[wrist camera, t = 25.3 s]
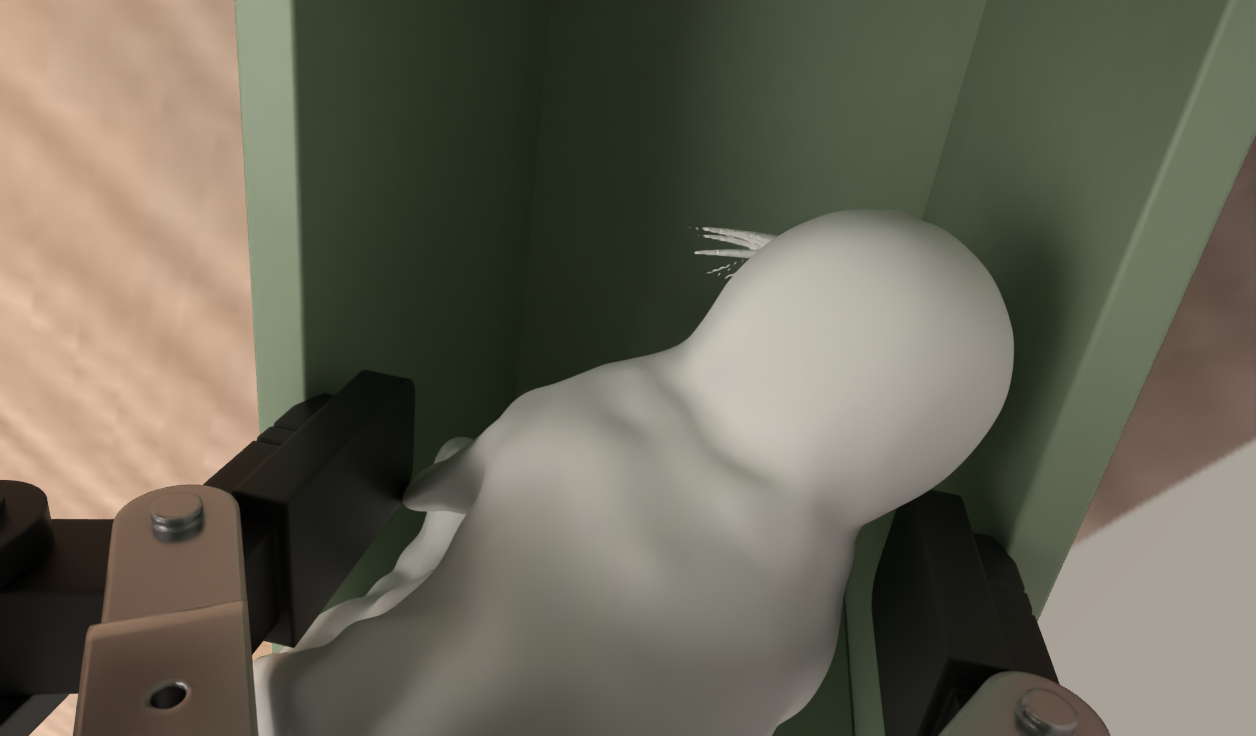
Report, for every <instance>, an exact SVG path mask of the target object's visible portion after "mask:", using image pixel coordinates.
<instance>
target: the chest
mask: <svg viewBox="0 0 1256 736" xmlns="http://www.w3.org/2000/svg"><path fill="white" fill-rule="evenodd" d="M234 1H235V18H236V35H237V52H238V69H239V86H240V103H241V121H242V138H243V155H244V172H245V189H246V206H247V223H248V240H249V257H250V274H251V291H252V308H253V325H254V343H255V360H256V377H257V394H258V411H259V428H260V435H261V434H262V433H263V432H264V431H265V430H266V429H267V428H269V427H270V426H271V427H273V426H274V422H276V421H277V420H278V419H279V418H280V417H281V416H282V415H284V414H285V413H286V412H287V411H288V410H289V409H290V408H292V407H293V406H294V405H296V404H299V403H301V402H303V401H306V400H308V399H311V398H313V397H315V396H318V395H320V394H323V393H327V394H332V395H335V394H337V393H338V392H339V391H340V390H341V389H342V388H343V387H344V386H345V385H346V384H347V383H348V382H350V381H351V380H352V379H353V378H354V377H355V376H356V375H357V374H358V373H359V372H361V371H362V370H370V371H374V372H379V373H384V374H389V375H394V376H398V377H403V378H408V379H411V380H412V381H413V383H414V386H415V424H414V456H413V471H412V476H411V481H412V480H413V479H414V478H415V477H416V476H417V475H418V474H419V473H420V472H421V471H422V470H425V469H427V468H428V467H430V466H431V465H433V464H434V461H435V458H436V456H437V454H438V453H439V450H440V449H441V447H442V446H443V445H444V444H445V443H446V442H448V441H449V440H451V439H453V438H455V437H468V438H471V439H473V440H474V439H475V438H477V437H478V436H480V435H481V434H482V433H483V432H484V431H485V430H486V429H487V428H488V427H489V426H490V425H492V424H493V423H494V422H495V421H497V420H498V419H499V418H500V417H501V415H502V414H503V413H504V412H505V410H506V409H507V408H508V407H509V406H510V405H511V404H512V403H513V402H514V401H515V400H516V399H517V398H519V397H520V396H522V395H523V394H525V393H527V392H529V391H531V390H534V389H537V388H540V387H544V386H548V385H552V384H555V383H558V382H561V381H563V380H566V379H568V378H571V377H574V376H576V375H579V374H581V373H584V372H586V371H589V370H591V369H593V368H596V367H598V366H601V365H604V364H608V363H612V362H618V361H623V360H628V359H633V358H637V357H642V356H646V355H650V354H655V353H658V352H661V351H664V350H667V349H670V348H673V347H675V346H677V345H679V344H681V343H682V342H684V341H685V340H686V339H688V338H689V337H690V336H691V335H692V334H693V332H694V331H695V330H696V329H697V327H698V326H699V325H700V323H701V322H702V321H703V319H704V318H705V316H706V315H707V314H708V312H709V311H710V309H711V307H712V306H713V304H714V303H715V301H716V299H717V298H718V296H719V295H720V293H721V292H722V290H723V289H724V287H725V286H726V284H727V283H728V282H729V280H730V279H731V278H732V277H733V276H729V277H728V278H726V277H727V276H728V275H732V274H734V273H735V272H737V271H738V270H739V269H740V268H741V267H742V266H743V265H744V264H745V263H746V262H747V261H748V260H749V259H750V258H740V257H729V256H718V255H706V254H695V253H694V252H696V251H703V250H716V249H720V250H723V249H731V250H732V249H750V248H749V247H746V246H743V245H738V244H734V243H732V242H726V241H720V240H718V239H712V238H705V237H704V236H703V235H716V236H717V235H723V236H726V235H725V234H719V233H713V232H711V231H704V230H703V229H702V228H703V227H710V228H724V229H725V228H726V229H735V230H742V231H752V232H757V233H766V234H772V235H777V236H779V235H781V234H782V233H784V232H785V231H787V230H789V229H791V228H793V227H795V226H797V225H799V224H801V223H803V222H806V221H808V220H811V219H814V218H816V217H819V216H822V215H825V214H829V213H832V212H837V211H842V210H853V209H873V210H899V211H902V212H905V213H907V214H909V215H911V216H914V217H916V218H918V219H920V220H922V221H925V222H928V223H931V224H934V225H936V226H938V227H940V228H942V229H944V230H946V231H947V232H949V233H950V234H951V235H953V236H954V237H955V238H957V239H958V240H959V241H960V242H961V243H962V244H964V245H965V246H966V247H967V248H968V249H969V250H970V251H971V252H972V253H973V254H974V255H975V256H976V257H977V258H978V259H979V260H980V262H981V263H982V264H983V265H984V266H985V268H986V269H987V270H988V272H989V273H990V275H991V276H992V278H993V280H994V281H995V283H996V285H997V287H998V289H999V291H1000V294H1001V296H1002V298H1003V301H1004V304H1005V306H1006V309H1007V312H1008V315H1009V319H1010V322H1011V326H1012V331H1013V339H1014V361H1013V370H1012V377H1011V382H1010V387H1009V390H1008V394H1007V397H1006V400H1005V402H1004V405H1003V407H1002V409H1001V411H1000V413H999V415H998V417H997V418H996V420H995V422H994V423H993V425H992V426H991V428H990V429H989V431H988V432H987V434H986V435H985V436H984V438H983V439H982V440H981V442H980V443H979V444H978V446H977V447H976V448H975V449H974V450H973V452H972V453H971V454H970V455H969V456H968V457H967V458H966V459H965V460H964V461H963V462H962V464H961V465H959V466H958V467H957V468H956V469H955V470H954V471H953V472H952V473H951V474H950V475H949V476H948V477H946V478H945V479H944V480H943V481H941V482H940V483H939V484H937V485H936V486H935V487H933V488H932V490H937V491H942V492H947V493H951V494H956V495H960V496H961V497H962V499H963V502H964V505H965V508H966V512H967V515H968V518H969V522H970V525H971V528H972V531H973V533H977V534H982V535H986V536H991V537H993V538H994V539H995V540H996V541H997V542H998V543H999V545H1000V546H1001V547H1002V548H1003V549H1004V550H1005V551H1006V552H1007V553H1008V555H1009V556H1010V557H1011V558H1012V559H1013V560H1014V561H1015V562H1016V565H1017V568H1018V570H1019V573H1020V576H1021V579H1022V581H1023V584H1024V587H1025V590H1024V593H1027V595H1028V598H1029V601H1030V604H1031V606H1032V609H1033V610H1032V615H1035V617H1036V620H1037V621H1038V619H1039V617H1040V615H1041V612H1042V610H1043V608H1044V606H1045V603H1046V601H1047V599H1048V597H1049V594H1050V592H1051V590H1052V588H1053V586H1054V583H1055V581H1056V579H1057V577H1058V574H1059V572H1060V570H1061V568H1062V566H1063V563H1064V561H1065V559H1066V557H1067V554H1068V552H1069V550H1070V548H1071V546H1072V543H1073V541H1074V539H1075V537H1076V534H1077V532H1078V530H1079V528H1080V525H1081V523H1082V521H1083V519H1084V517H1085V514H1086V512H1087V510H1088V508H1089V505H1090V503H1091V501H1092V499H1093V496H1094V494H1095V492H1096V490H1097V488H1098V485H1099V483H1100V481H1101V479H1102V476H1103V474H1104V472H1105V470H1106V468H1107V465H1108V463H1109V461H1110V459H1111V456H1112V454H1113V452H1114V450H1115V447H1116V445H1117V443H1118V441H1119V439H1120V436H1121V434H1122V432H1123V430H1124V427H1125V425H1126V423H1127V421H1128V418H1129V416H1130V414H1131V412H1132V410H1133V407H1134V405H1135V403H1136V401H1137V398H1138V396H1139V394H1140V392H1141V389H1142V387H1143V385H1144V383H1145V381H1146V378H1147V376H1148V374H1149V372H1150V369H1151V367H1152V365H1153V363H1154V361H1155V358H1156V356H1157V354H1158V352H1159V349H1160V347H1161V345H1162V343H1163V340H1164V338H1165V336H1166V334H1167V332H1168V329H1169V327H1170V325H1171V323H1172V320H1173V318H1174V316H1175V314H1176V311H1177V309H1178V307H1179V305H1180V303H1181V300H1182V298H1183V296H1184V294H1185V291H1186V289H1187V287H1188V285H1189V282H1190V280H1191V278H1192V276H1193V274H1194V271H1195V269H1196V267H1197V265H1198V262H1199V260H1200V258H1201V256H1202V253H1203V251H1204V249H1205V247H1206V245H1207V242H1208V240H1209V238H1210V236H1211V233H1212V231H1213V229H1214V227H1215V225H1216V222H1217V220H1218V218H1219V216H1220V213H1221V211H1222V209H1223V207H1224V204H1225V202H1226V200H1227V198H1228V196H1229V193H1230V191H1231V189H1232V187H1233V184H1234V182H1235V180H1236V178H1237V175H1238V173H1239V171H1240V169H1241V167H1242V164H1243V162H1244V160H1245V158H1246V155H1247V153H1248V151H1249V149H1250V146H1251V144H1252V142H1253V140H1254V138H1255V135H1256V0H234ZM689 227H690V228H689ZM696 228H698V230H697V229H696ZM698 235H699V236H698ZM742 260H743V261H742ZM735 262H736V264H734V263H735ZM729 264H730V265H729ZM727 265H729V266H728V267H727ZM721 267H727V268H722V269H720V268H721ZM715 269H717V270H718V271H714V272H712V271H713V270H715ZM719 269H720V270H719ZM728 269H730V270H728ZM707 272H711V273H707ZM719 273H720V275H719ZM725 278H726V279H725ZM955 474H956V475H955ZM411 481H410V482H411ZM896 509H897V508H896ZM896 509H894V510H892V511H890V512H888V513H886V514H884V515H882V516H881V517H879V518H877V519H875V520H873V521H871V522H868V523H866V524H864V525H863V526H862V528H861V529H860V531H859V532H858V534H857V537H856V541H855V556H854V562H853V566H852V570H851V573H850V576H849V579H848V582H847V585H846V588H845V592H844V597H843V603H842V611H841V619H840V627H839V634H838V640H837V645H836V649H835V653H834V656H833V659H832V662H831V664H830V667H829V669H828V671H827V674H826V676H825V678H824V679H823V681H822V683H821V685H820V686H819V688H818V690H817V691H816V693H815V694H814V696H813V697H812V698H811V700H810V701H809V702H808V703H807V705H806V706H805V707H804V708H803V709H802V710H800V711H799V712H798V713H797V714H795V715H794V716H792V717H791V718H789V719H788V720H786V721H784V722H783V723H781V724H779V725H778V726H777V728H776V729H775V731H774V733H773V734H772V736H885V730H884V721H883V712H882V703H881V694H880V685H879V676H878V667H877V658H876V648H875V639H874V630H873V621H872V611H871V600H872V589H873V583H874V578H875V574H876V570H877V566H878V563H879V560H880V557H881V554H882V551H883V548H884V545H885V542H886V539H887V536H888V533H889V530H890V527H891V524H892V521H893V518H894V515H895V512H896ZM426 515H427V511H416V510H412V509H409V508H407V507H406V506H405V505H404V503H403V501H402V503H401V504H400V506H399V507H398V509H397V510H396V511H395V513H394V514H393V515H392V517H391V518H390V519H389V521H388V522H387V523H386V525H385V526H384V528H383V529H382V530H381V532H380V533H379V534H378V536H377V537H376V538H375V540H374V541H373V542H372V544H371V545H370V546H369V548H368V549H367V551H366V552H365V553H364V555H363V556H362V557H361V559H360V560H359V561H358V563H357V564H356V565H355V567H354V568H353V570H352V571H351V572H350V574H349V575H348V576H347V578H346V579H345V580H344V582H343V583H342V584H341V586H340V587H339V588H338V590H337V591H336V593H335V594H334V595H333V597H332V598H331V599H330V601H329V602H328V603H327V605H326V606H325V607H324V609H323V610H322V611H321V613H320V614H322V613H323V612H325V611H327V610H328V609H330V608H332V607H334V606H336V605H338V604H340V603H343V602H345V601H348V600H351V599H356V598H362V597H364V596H365V595H366V594H367V593H368V592H369V591H370V589H371V588H372V587H373V586H374V584H375V583H376V582H377V581H378V580H380V579H381V578H382V577H384V576H386V575H388V574H389V573H391V572H392V571H393V570H394V568H395V566H396V564H397V561H398V559H399V557H400V555H401V554H402V552H403V551H404V550H405V548H406V547H407V546H408V545H409V544H410V543H411V542H412V541H413V540H414V539H415V538H416V537H417V536H418V534H419V533H420V531H421V529H422V526H423V524H424V521H425V517H426ZM320 614H319V615H320ZM283 647H284V646H283V645H279V644H275V643H272V650H273V653H279V652H280V651H281V650H282V648H283Z"/></svg>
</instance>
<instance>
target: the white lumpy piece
mask: <svg viewBox="0 0 1256 736" xmlns="http://www.w3.org/2000/svg"><path fill="white" fill-rule="evenodd" d="M689 228H690V227H689ZM696 229H697V230H698V228H696ZM702 229H703V230H704V231H711V232H713V233H719V234H725V235H726V236H723V235H717V236H716V235H703V236H704V237H705V238H712V239H718V240H720V241H726V242H732V243H734V244H738V245H743V246H746V247H749V248H750V249H732V250H731V249H723V250H720V249H716V250H703V251H696V252H694V253H695V254H706V255H718V256H729V257H740V258H750V259H749V260H748V261H747V262H746V263H745V264H744V265H743V266H742V267H741V268H740V269H739V270H738V271H737V272H735V273H734V274H732V275H728V276H727V277H726V278H728V277H729V276H733V277H732V278H731V279H730V280H729V282H728V283H727V284H726V286H725V287H724V289H723V290H722V292H721V293H720V295H719V296H718V298H717V299H716V301H715V303H714V304H713V306H712V307H711V309H710V311H709V312H708V314H707V315H706V316H705V318H704V319H703V321H702V322H701V323H700V325H699V326H698V327H697V329H696V330H695V331H694V332H693V334H692V335H691V336H690V337H689V338H688V339H686V340H685V341H684V342H682V343H681V344H679V345H677V346H675V347H673V348H670V349H667V350H664V351H661V352H658V353H655V354H650V355H646V356H642V357H637V358H633V359H628V360H623V361H618V362H612V363H608V364H604V365H601V366H598V367H596V368H593V369H591V370H589V371H586V372H584V373H581V374H579V375H576V376H574V377H571V378H568V379H566V380H563V381H561V382H558V383H555V384H552V385H548V386H544V387H540V388H537V389H534V390H531V391H529V392H527V393H525V394H523V395H522V396H520V397H519V398H517V399H516V400H515V401H514V402H513V403H512V404H511V405H510V406H509V407H508V408H507V409H506V410H505V412H504V413H503V414H502V415H501V417H500V418H499V419H498V420H497V421H495V422H494V423H493V424H492V425H490V426H489V427H488V428H487V429H486V430H485V431H484V432H483V433H482V434H481V435H480V436H478V437H477V438H475V439H474V440H473V439H471V438H468V437H455V438H453V439H451V440H449V441H448V442H446V443H445V444H444V445H443V446H442V447H441V449H440V450H439V453H438V454H437V456H436V458H435V461H434V464H433V465H431V466H430V467H428V468H427V469H425V470H422V471H421V472H420V473H419V474H418V475H417V476H416V477H415V478H414V479H413V480H412V481H411V482H410V484H409V486H408V487H407V488H406V490H405V492H404V494H403V498H402V499H403V503H404V505H405V506H406V507H407V508H409V509H412V510H416V511H427V515H426V517H425V521H424V524H423V526H422V529H421V531H420V533H419V534H418V536H417V537H416V538H415V539H414V540H413V541H412V542H411V543H410V544H409V545H408V546H407V547H406V548H405V550H404V551H403V552H402V554H401V555H400V557H399V559H398V561H397V564H396V566H395V568H394V570H393V571H392V572H391V573H389V574H388V575H386V576H384V577H382V578H381V579H380V580H378V581H377V582H376V583H375V584H374V586H373V587H372V588H371V589H370V591H369V592H368V593H367V594H366V595H365V596H364V597H362V598H356V599H351V600H348V601H345V602H343V603H340V604H338V605H336V606H334V607H332V608H330V609H328V610H327V611H325V612H323V613H322V614H320V615H319V616H318V617H317V618H316V620H315V621H314V622H313V624H312V625H311V626H310V628H309V629H308V630H307V632H306V633H305V635H304V636H303V637H302V639H301V640H300V641H299V643H298V644H297V645H296V647H295V648H291V647H287V646H284V647H283V648H282V650H281V651H280V652H279V653H273V654H269V655H266V656H261V657H259V658H257V659H255V660H254V661H252V662H253V674H254V686H255V698H256V710H257V722H258V734H259V736H772V734H773V733H774V731H775V729H776V728H777V726H778V725H779V724H781V723H783V722H784V721H786V720H788V719H789V718H791V717H792V716H794V715H795V714H797V713H798V712H799V711H800V710H802V709H803V708H804V707H805V706H806V705H807V703H808V702H809V701H810V700H811V698H812V697H813V696H814V694H815V693H816V691H817V690H818V688H819V686H820V685H821V683H822V681H823V679H824V678H825V676H826V674H827V671H828V669H829V667H830V664H831V662H832V659H833V656H834V653H835V649H836V645H837V640H838V634H839V627H840V619H841V611H842V603H843V597H844V592H845V588H846V585H847V582H848V579H849V576H850V573H851V570H852V566H853V562H854V556H855V541H856V537H857V534H858V532H859V531H860V529H861V528H862V526H863V525H864V524H866V523H868V522H871V521H873V520H875V519H877V518H879V517H881V516H882V515H884V514H886V513H888V512H890V511H892V510H894V509H896V508H898V507H900V506H902V505H904V504H906V503H908V502H910V501H912V500H913V499H915V498H917V497H919V496H921V495H922V494H924V493H926V492H927V491H929V490H930V489H932V488H933V487H935V486H936V485H937V484H939V483H940V482H941V481H943V480H944V479H945V478H946V477H948V476H949V475H950V474H951V473H952V472H953V471H954V470H955V469H956V468H957V467H958V466H959V465H961V464H962V462H963V461H964V460H965V459H966V458H967V457H968V456H969V455H970V454H971V453H972V452H973V450H974V449H975V448H976V447H977V446H978V444H979V443H980V442H981V440H982V439H983V438H984V436H985V435H986V434H987V432H988V431H989V429H990V428H991V426H992V425H993V423H994V422H995V420H996V418H997V417H998V415H999V413H1000V411H1001V409H1002V407H1003V405H1004V402H1005V400H1006V397H1007V394H1008V390H1009V387H1010V382H1011V377H1012V370H1013V361H1014V339H1013V331H1012V326H1011V322H1010V319H1009V315H1008V312H1007V309H1006V306H1005V304H1004V301H1003V298H1002V296H1001V294H1000V291H999V289H998V287H997V285H996V283H995V281H994V280H993V278H992V276H991V275H990V273H989V272H988V270H987V269H986V268H985V266H984V265H983V264H982V263H981V262H980V260H979V259H978V258H977V257H976V256H975V255H974V254H973V253H972V252H971V251H970V250H969V249H968V248H967V247H966V246H965V245H964V244H962V243H961V242H960V241H959V240H958V239H957V238H955V237H954V236H953V235H951V234H950V233H949V232H947V231H946V230H944V229H942V228H940V227H938V226H936V225H934V224H931V223H928V222H925V221H922V220H920V219H918V218H916V217H914V216H911V215H909V214H907V213H905V212H902V211H899V210H873V209H853V210H842V211H837V212H832V213H829V214H825V215H822V216H819V217H816V218H814V219H811V220H808V221H806V222H803V223H801V224H799V225H797V226H795V227H793V228H791V229H789V230H787V231H785V232H784V233H782V234H781V235H779V236H777V235H772V234H766V233H757V232H752V231H742V230H735V229H726V228H725V229H724V228H710V227H703V228H702ZM698 236H699V235H698ZM742 261H743V260H742ZM734 264H736V262H735V263H734ZM729 265H730V264H729ZM729 265H727V267H728V266H729ZM727 267H721V268H720V269H722V268H727ZM720 269H719V270H720ZM728 270H730V269H728ZM714 271H718V270H717V269H715V270H713V271H712V272H714ZM707 273H711V272H707ZM719 275H720V273H719ZM726 278H725V279H726ZM955 475H956V474H955Z"/></svg>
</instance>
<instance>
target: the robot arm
mask: <svg viewBox="0 0 1256 736" xmlns="http://www.w3.org/2000/svg"><path fill="white" fill-rule="evenodd" d="M414 424H415V386H414V383H413V381H412V380H411V379H408V378H403V377H398V376H394V375H389V374H384V373H379V372H374V371H370V370H362V371H361V372H359V373H358V374H357V375H356V376H355V377H354V378H353V379H352V380H351V381H350V382H348V383H347V384H346V385H345V386H344V387H343V388H342V389H341V390H340V391H339V392H338V393H337V394H335V395H332V394H327V393H323V394H320V395H318V396H315V397H313V398H311V399H308V400H306V401H303V402H301V403H299V404H296V405H294V406H293V407H292V408H290V409H289V410H288V411H287V412H286V413H285V414H284V415H282V416H281V417H280V418H279V419H278V420H277V421H276V422H274V426H273V427H271V426H270V427H269V428H267V429H266V430H265V431H264V432H263V433H262V434H261V435H259V436H258V438H257V441H253V442H251V443H250V444H249V445H248V446H247V447H246V448H245V449H243V450H242V451H241V452H240V453H239V454H238V455H236V456H235V457H234V458H233V459H232V460H231V461H230V462H228V463H227V464H226V465H225V466H224V467H223V468H222V469H220V470H219V471H218V472H217V473H216V474H215V475H214V476H212V477H211V478H210V479H209V480H208V481H207V482H205V483H204V484H203V485H177V486H171V487H165V488H161V489H157V490H154V491H151V492H149V493H146V494H144V495H142V496H139V497H137V498H136V499H134V500H132V501H131V502H129V503H128V504H127V505H125V506H124V507H123V508H122V509H121V510H120V511H119V512H118V513H117V515H116V517H115V518H114V519H51V517H50V512H49V506H48V501H47V496H46V495H45V493H44V492H43V491H42V490H41V489H39V488H38V487H36V486H34V485H32V484H28V483H25V482H20V481H13V480H0V736H29V735H30V734H31V733H32V732H33V731H34V730H35V729H36V728H37V727H38V726H39V725H40V724H41V723H42V722H43V721H44V720H45V719H46V718H47V717H48V716H49V715H50V714H51V712H52V711H53V710H54V709H55V708H56V707H57V706H58V705H59V704H60V703H61V702H62V701H63V700H64V699H65V698H66V697H67V696H68V695H69V694H76V693H78V701H77V708H76V716H75V723H74V731H73V736H259V734H258V722H257V710H256V698H255V686H254V674H253V662H252V655H253V653H254V652H255V651H256V649H257V648H258V647H259V646H260V644H261V643H262V642H263V641H266V642H271V643H275V644H279V645H283V646H287V647H291V648H295V647H296V645H297V644H298V643H299V641H300V640H301V639H302V637H303V636H304V635H305V633H306V632H307V630H308V629H309V628H310V626H311V625H312V624H313V622H314V621H315V620H316V618H317V617H318V616H319V614H320V613H321V611H322V610H323V609H324V607H325V606H326V605H327V603H328V602H329V601H330V599H331V598H332V597H333V595H334V594H335V593H336V591H337V590H338V588H339V587H340V586H341V584H342V583H343V582H344V580H345V579H346V578H347V576H348V575H349V574H350V572H351V571H352V570H353V568H354V567H355V565H356V564H357V563H358V561H359V560H360V559H361V557H362V556H363V555H364V553H365V552H366V551H367V549H368V548H369V546H370V545H371V544H372V542H373V541H374V540H375V538H376V537H377V536H378V534H379V533H380V532H381V530H382V529H383V528H384V526H385V525H386V523H387V522H388V521H389V519H390V518H391V517H392V515H393V514H394V513H395V511H396V510H397V509H398V507H399V506H400V504H401V503H402V501H403V499H402V498H403V494H404V492H405V490H406V488H407V487H408V486H409V484H410V481H411V476H412V471H413V456H414ZM1024 590H1025V587H1024V584H1023V581H1022V579H1021V576H1020V573H1019V570H1018V568H1017V565H1016V562H1015V561H1014V560H1013V559H1012V558H1011V557H1010V556H1009V555H1008V553H1007V552H1006V551H1005V550H1004V549H1003V548H1002V547H1001V546H1000V545H999V543H998V542H997V541H996V540H995V539H994V538H993V537H991V536H986V535H982V534H977V533H973V531H972V528H971V525H970V522H969V518H968V515H967V512H966V508H965V505H964V502H963V499H962V497H961V496H960V495H956V494H951V493H947V492H942V491H937V490H932V489H930V490H929V491H927V492H926V493H924V494H922V495H921V496H919V497H917V498H915V499H913V500H912V501H910V502H908V503H906V504H904V505H902V506H900V507H898V508H897V509H896V512H895V515H894V518H893V521H892V524H891V527H890V530H889V533H888V536H887V539H886V542H885V545H884V548H883V551H882V554H881V557H880V560H879V563H878V566H877V570H876V574H875V578H874V583H873V589H872V600H871V611H872V621H873V630H874V639H875V648H876V658H877V667H878V676H879V685H880V694H881V703H882V712H883V721H884V730H885V736H1110V733H1109V731H1108V729H1107V727H1106V725H1105V724H1104V722H1103V721H1102V719H1101V718H1100V717H1099V716H1098V715H1097V713H1096V712H1095V711H1094V710H1093V709H1092V708H1091V707H1090V706H1089V705H1088V704H1087V703H1086V702H1085V701H1083V700H1082V699H1081V698H1080V697H1079V696H1077V695H1076V694H1074V693H1073V692H1071V691H1070V690H1068V689H1067V688H1065V687H1063V686H1061V685H1060V684H1059V681H1058V678H1057V676H1056V673H1055V670H1054V667H1053V665H1052V662H1051V659H1050V656H1049V653H1048V651H1047V648H1046V645H1045V642H1044V640H1043V637H1042V634H1041V632H1040V629H1039V626H1038V623H1037V620H1036V617H1035V615H1032V610H1033V609H1032V606H1031V604H1030V601H1029V598H1028V595H1027V593H1024Z"/></svg>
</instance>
